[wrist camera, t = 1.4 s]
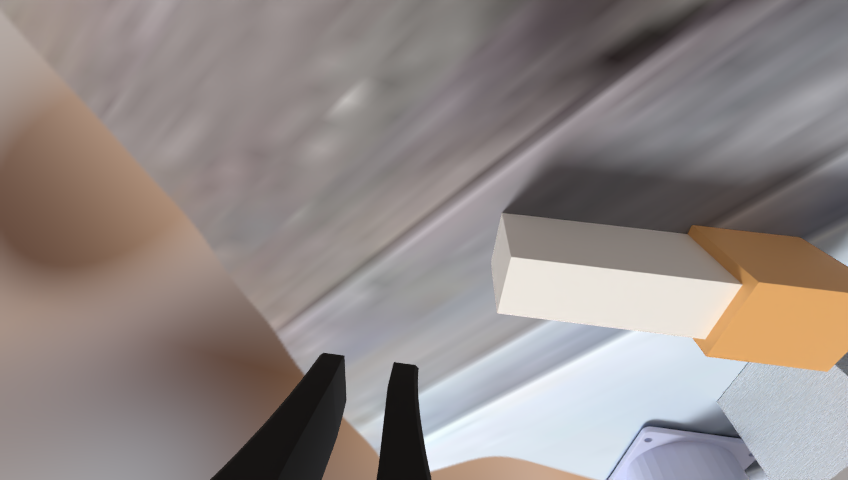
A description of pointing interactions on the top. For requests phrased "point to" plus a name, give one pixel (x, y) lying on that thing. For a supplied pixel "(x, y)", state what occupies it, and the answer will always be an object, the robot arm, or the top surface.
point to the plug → (679, 286)
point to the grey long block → (792, 419)
